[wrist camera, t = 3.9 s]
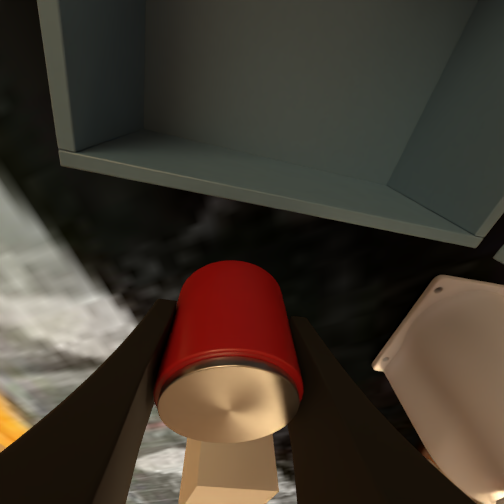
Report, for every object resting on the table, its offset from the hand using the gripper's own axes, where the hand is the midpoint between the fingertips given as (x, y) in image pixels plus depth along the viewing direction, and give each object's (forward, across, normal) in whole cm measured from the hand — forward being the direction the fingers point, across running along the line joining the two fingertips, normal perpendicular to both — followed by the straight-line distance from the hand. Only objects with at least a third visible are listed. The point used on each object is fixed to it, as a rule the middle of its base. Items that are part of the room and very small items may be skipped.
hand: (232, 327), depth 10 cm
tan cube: (+6, -3, +18) cm, 19 cm away
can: (+1, 0, 0) cm, 1 cm away
